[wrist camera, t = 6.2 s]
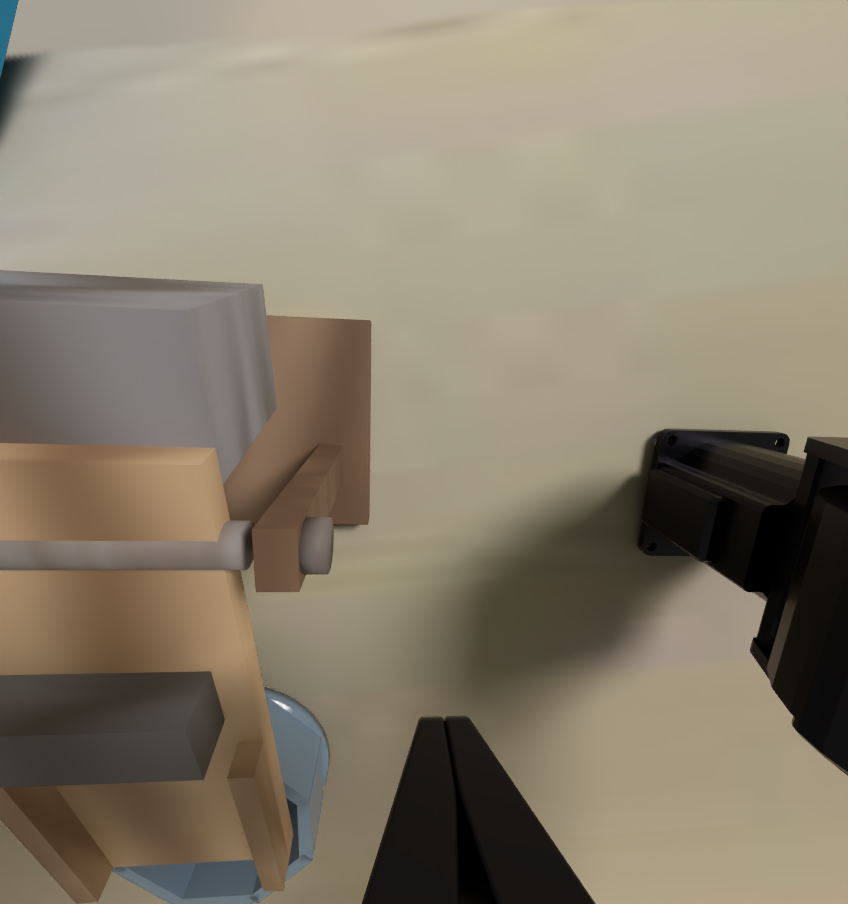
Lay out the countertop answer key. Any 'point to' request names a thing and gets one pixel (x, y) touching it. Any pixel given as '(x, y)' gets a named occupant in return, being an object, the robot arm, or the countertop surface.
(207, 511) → the tipping lever
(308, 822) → the blue bowl
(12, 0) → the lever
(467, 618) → the countertop surface
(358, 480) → the lever stand
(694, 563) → the countertop surface
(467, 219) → the countertop surface
